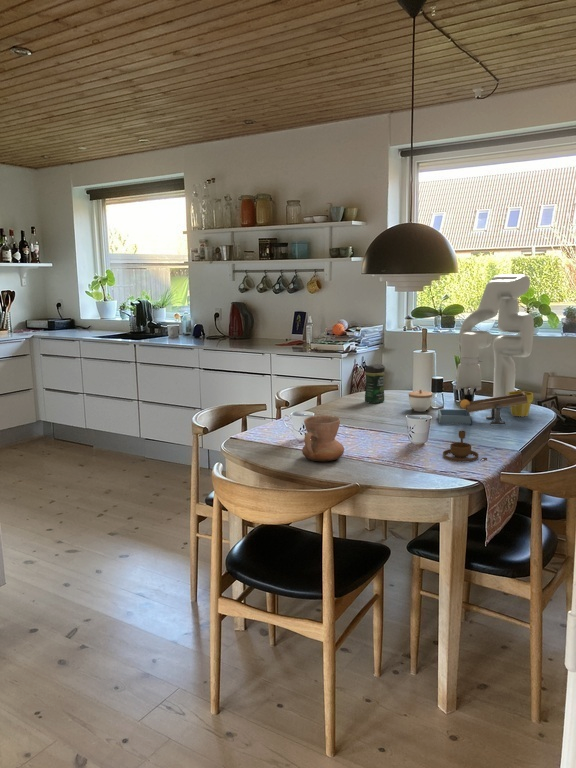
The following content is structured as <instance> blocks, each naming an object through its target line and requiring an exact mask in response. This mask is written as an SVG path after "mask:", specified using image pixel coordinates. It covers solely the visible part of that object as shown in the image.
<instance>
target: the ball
mask: <svg viewBox="0 0 576 768" xmlns="http://www.w3.org/2000/svg"><path fill="white" fill-rule="evenodd" d="M467 405H470V402H469V401H468V400H466V399H464V398H463V399H462V400H460V403H459V406H460V408H461V409H462V410H466V409H467Z"/></svg>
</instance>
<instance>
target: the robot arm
mask: <svg viewBox="0 0 576 768" xmlns="http://www.w3.org/2000/svg"><path fill="white" fill-rule="evenodd" d="M530 287H531V280H530V278H529V276H528V275H526V274H498V275H494V276H493V277H492V278H491V280H490V281H488V282H487V284H486V285H485V288H484V290H483V293H482V295H481V296H482V297H481V298H480V302H479V305H478V307H477V309H475V310H474V311H473V312H472V313H470V315H468V316H467V317H466V318H465V319H464V321H463V322H462V324H461V327H460V330H459V333H458V338H457V339H458V340H457V341H458V344H459V346H460V360H459V363H458V364H457V369H456V376H455V377H456V381H455V385H456V386H455V390H457V391H461V392H462V393H463V394H464V395H463V396H464V397H463V400H464V399H466V400H468V401H473V394H474V393H476V392H477V391H481V390H482V370H481V364H480V362H481V363H482V362H483V359H482V358H480V349H487V348H489V347H490V346H491V345H492V350H493V351H492V352H493V358H494V363H493V364H494V365H493V367H494V369H493V390H492V391H493V393H492V396H491V397H490V398H494V397H500V396H506V395H508V393H509V392H512V391H515V389H516V388H515V387H516V386H515V384H516V362H515V360H514V359H513V357H517V358H527V357H529V356H530V355H531V353H532V351H533V342H534V328H535V321H534V317H533V315H532V314H530V313H528V312H519V300H518V298H520V297H522V296H523V295H525V294H526V293H527V292H528V291H529V289H530ZM497 315H498V316H497ZM495 317H497V328H498V331H500V332H502V333H507V334H508V333H509V334H519V335H520V336H519V335H518V336H517V335H498V336H496V337H495V338H494V339H493V336H492V334H491V333H490V332H489V331H486V330H473V328H474V327H476V325H478V324H480V323H482V322H485V321H488V320H490V319H493V318H495ZM467 388H468V389H469V392H468V390H467Z"/></svg>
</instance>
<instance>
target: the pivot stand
mask: <svg viewBox="0 0 576 768" xmlns="http://www.w3.org/2000/svg"><path fill="white" fill-rule="evenodd" d="M501 408H502V407H501V405H495V408H494V409H490V412H491V413H490V414H491V415H486V416H485V419H486V420H494V421H489V425H491V424H505V425H506V422H505V421H501V420H502V416H501V411H502V409H501Z"/></svg>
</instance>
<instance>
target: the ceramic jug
mask: <svg viewBox="0 0 576 768" xmlns="http://www.w3.org/2000/svg"><path fill="white" fill-rule="evenodd" d="M303 422H304V427H305V430H306V433H305V434H304V439H303V440H304V445H303V447H302V450H301V452H302V455H303V456H304V457H305V458H306V459H308V460H311V461H315V462H325V463H326V462H332V461H335V460H338V459H339V458H341V457H342V456H343V454H344V452H345V448H344V445H343V444H342V443H341V442H340V441H339V440H337V439H336V437H337V434H338V432H339V429H340V423H341V418H340V417H339V416H336V415H335V416H333V415H329V414H326V415H325V414H319V415H312V416H309V417H307V418H305V419H304V420H303Z"/></svg>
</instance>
